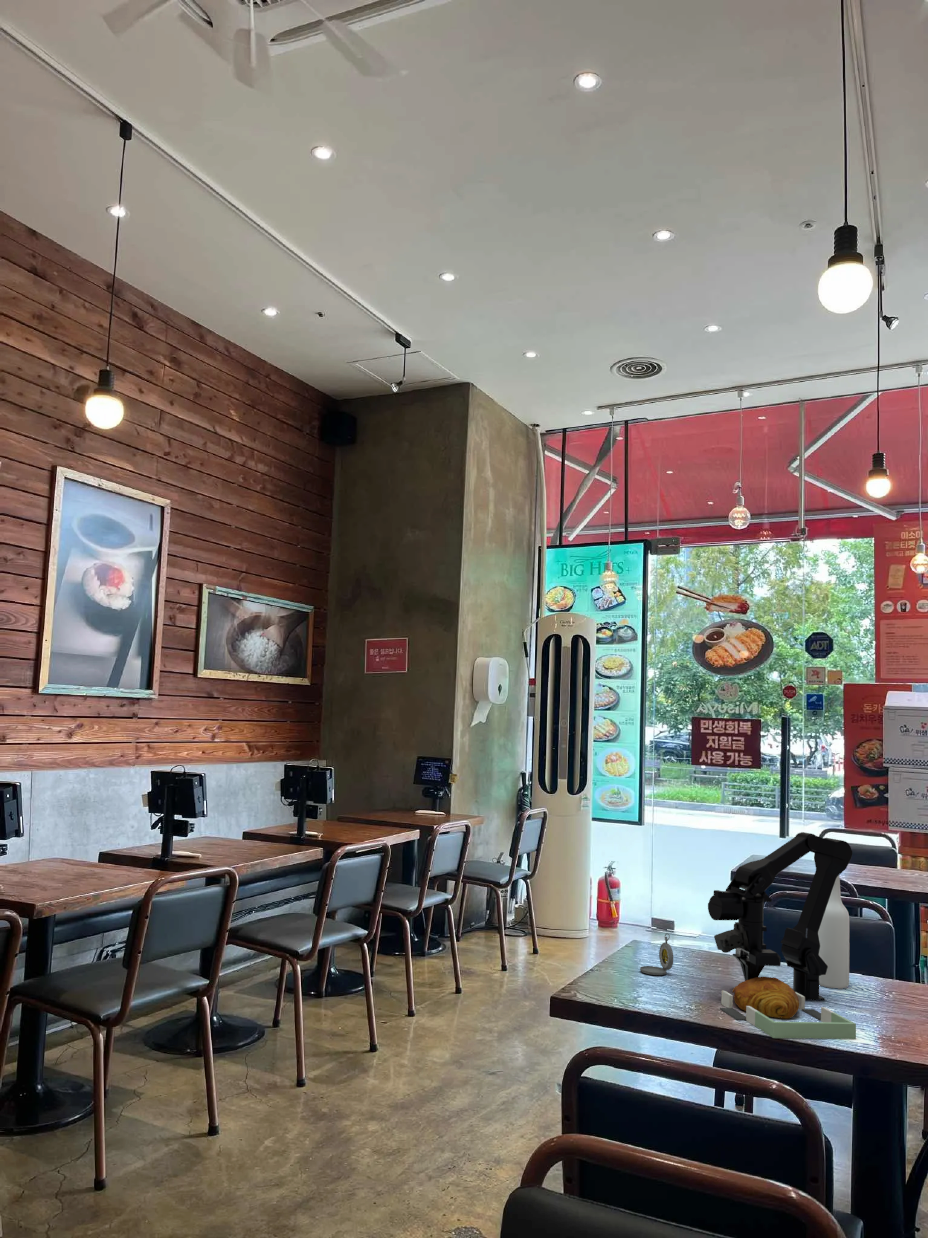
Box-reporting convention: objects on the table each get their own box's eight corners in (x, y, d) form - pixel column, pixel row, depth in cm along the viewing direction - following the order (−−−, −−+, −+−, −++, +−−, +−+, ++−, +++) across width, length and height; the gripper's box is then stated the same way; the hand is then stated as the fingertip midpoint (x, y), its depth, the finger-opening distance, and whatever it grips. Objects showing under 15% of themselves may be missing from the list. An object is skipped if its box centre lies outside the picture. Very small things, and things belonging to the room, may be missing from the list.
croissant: (794, 1015, 213) (795, 979, 215) (802, 1024, 199) (803, 985, 201) (730, 1005, 217) (731, 970, 219) (734, 1013, 202) (735, 975, 204)
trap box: (712, 1004, 210) (712, 990, 210) (804, 1005, 213) (804, 992, 214) (763, 1038, 186) (763, 1022, 187) (865, 1039, 190) (865, 1024, 190)
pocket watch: (635, 972, 235) (636, 932, 237) (652, 967, 241) (653, 929, 243) (663, 979, 230) (664, 938, 231) (679, 974, 236) (681, 934, 237)
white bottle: (850, 991, 229) (851, 869, 233) (813, 986, 232) (814, 866, 236) (847, 983, 238) (848, 865, 242) (811, 978, 240) (813, 862, 244)
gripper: (702, 911, 226) (701, 977, 224) (737, 927, 208) (735, 998, 206) (744, 913, 228) (743, 978, 226) (782, 929, 210) (781, 999, 208)
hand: (749, 988), depth 216 cm, fingers closed
